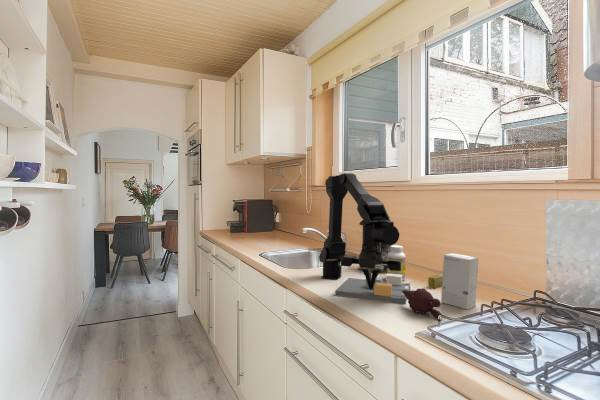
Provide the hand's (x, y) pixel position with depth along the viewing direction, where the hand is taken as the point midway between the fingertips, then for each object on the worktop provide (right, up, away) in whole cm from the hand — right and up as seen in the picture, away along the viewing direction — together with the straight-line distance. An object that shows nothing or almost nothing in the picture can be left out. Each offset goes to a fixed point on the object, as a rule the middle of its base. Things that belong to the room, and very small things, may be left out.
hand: (371, 289), depth 108 cm
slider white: (+10, -1, +11) cm, 15 cm away
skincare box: (+25, -3, -6) cm, 26 cm away
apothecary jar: (+12, -2, +38) cm, 40 cm away
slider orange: (+4, -1, -1) cm, 4 cm away
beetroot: (+11, -3, -13) cm, 17 cm away
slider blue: (+2, -1, +7) cm, 7 cm away
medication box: (+28, -3, +15) cm, 32 cm away
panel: (+2, -3, +7) cm, 8 cm away
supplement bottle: (+15, -2, +23) cm, 28 cm away
